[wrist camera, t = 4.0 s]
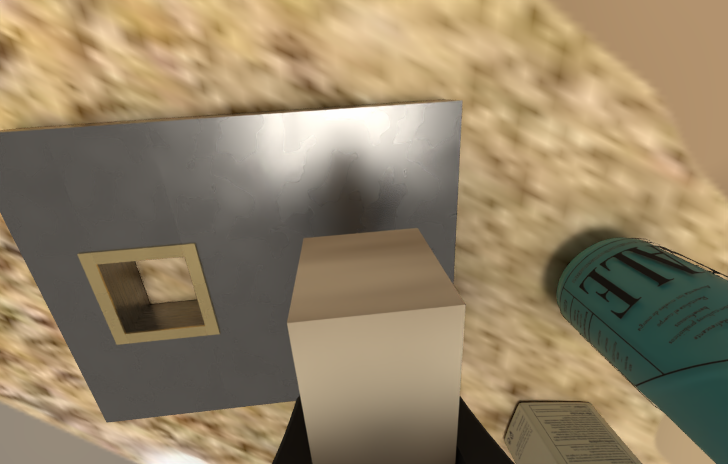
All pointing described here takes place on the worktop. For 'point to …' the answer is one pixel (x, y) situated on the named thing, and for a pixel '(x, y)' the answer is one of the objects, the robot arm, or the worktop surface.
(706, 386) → the beverage bottle
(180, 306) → the charcoal cover panel
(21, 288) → the worktop surface
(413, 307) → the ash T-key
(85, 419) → the worktop surface
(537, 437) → the skincare box
